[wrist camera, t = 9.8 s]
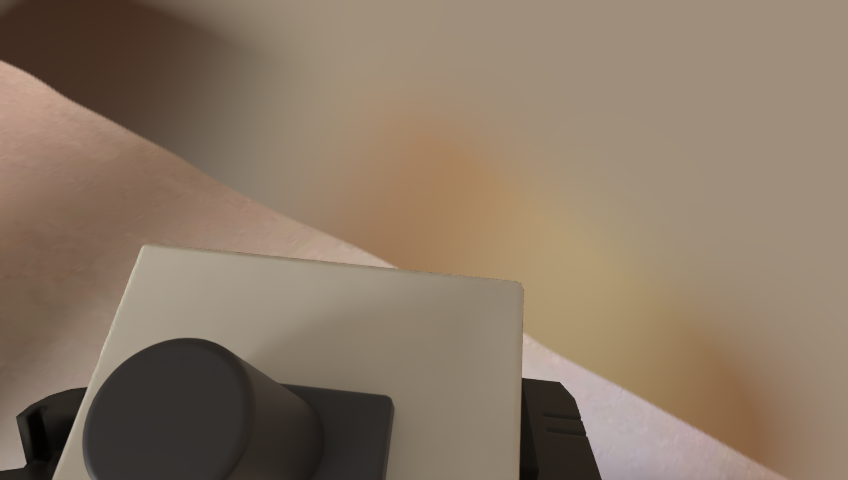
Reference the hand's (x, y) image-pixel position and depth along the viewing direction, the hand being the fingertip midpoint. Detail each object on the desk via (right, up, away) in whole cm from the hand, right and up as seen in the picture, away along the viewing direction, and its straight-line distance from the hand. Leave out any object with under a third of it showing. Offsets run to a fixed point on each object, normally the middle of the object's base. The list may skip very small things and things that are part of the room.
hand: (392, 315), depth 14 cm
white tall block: (0, -5, +1) cm, 5 cm away
